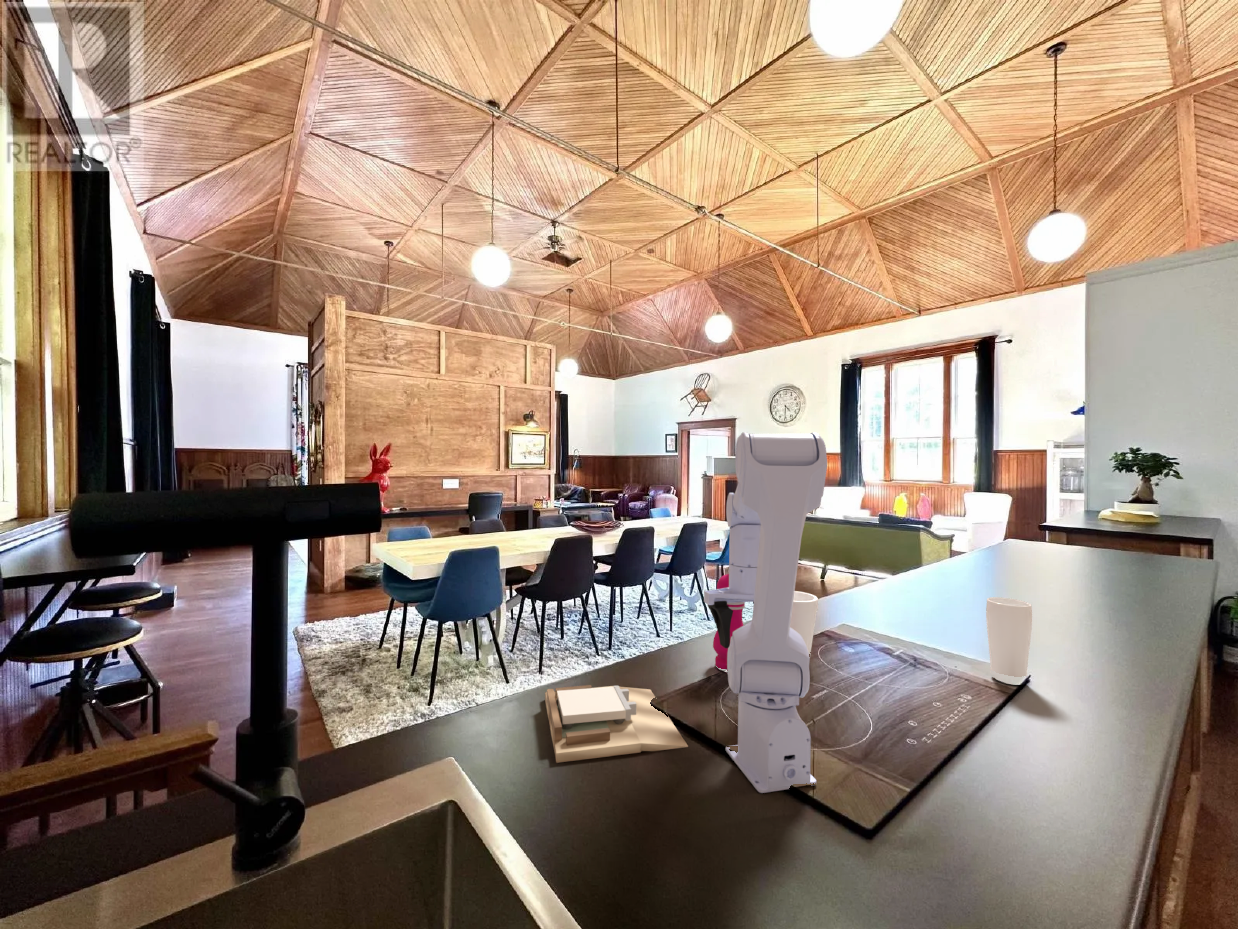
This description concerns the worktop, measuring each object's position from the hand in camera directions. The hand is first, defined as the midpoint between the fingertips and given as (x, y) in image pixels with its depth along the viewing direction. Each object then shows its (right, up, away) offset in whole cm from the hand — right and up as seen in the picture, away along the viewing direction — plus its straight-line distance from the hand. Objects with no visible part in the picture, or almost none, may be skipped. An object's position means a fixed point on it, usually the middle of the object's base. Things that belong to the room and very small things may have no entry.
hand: (745, 644), depth 82 cm
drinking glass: (+52, -11, +9) cm, 54 cm away
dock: (-23, -10, -8) cm, 26 cm away
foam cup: (+15, -10, +19) cm, 26 cm away
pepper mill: (+1, -10, +13) cm, 17 cm away
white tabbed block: (-26, -8, -9) cm, 28 cm away
